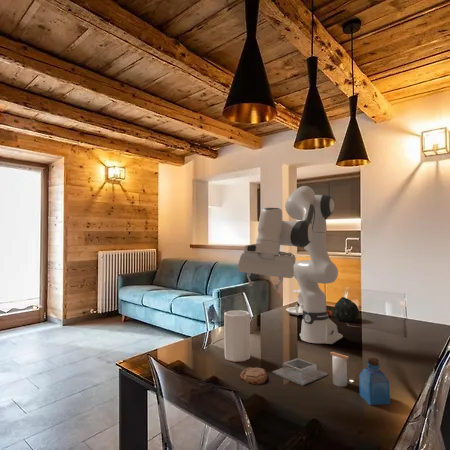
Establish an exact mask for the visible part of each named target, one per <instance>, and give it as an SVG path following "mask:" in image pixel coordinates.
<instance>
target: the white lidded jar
mask: <svg viewBox="0 0 450 450" xmlns="http://www.w3.org/2000/svg"><path fill="white" fill-rule="evenodd" d="M329 356H331V357H332V384H333V385H334V386H337V387H339V388H340V387H347V386H348V370H347V365H348V364H347V362H348V361H347V360H349V359H350V357H349V356H348V355H345V354H341V353H337V352H335V351H330V352H329Z"/></svg>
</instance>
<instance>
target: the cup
mask: <svg viewBox="0 0 450 450" xmlns="http://www.w3.org/2000/svg"><path fill="white" fill-rule="evenodd" d="M223 313H224V316H223V319H224V320H223V323H224V325H223V326H224V327H223V328H224V329H223V333H224V335H223V336H224V337H223V338H224V340H223V341H224V345H223V346H224V347H223V348H224V358H225V360H226V361H230V362H234V363H235V362H237V363H238V362H246V361H247V360H250V359H251V317H250V316H251V314H250V313H249V311H247V310H240V309H239V310H228V311H225V312H223Z"/></svg>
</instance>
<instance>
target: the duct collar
mask: <svg viewBox="0 0 450 450" xmlns="http://www.w3.org/2000/svg"><path fill="white" fill-rule="evenodd" d="M272 374H274V375H276V376H279V377H281V378H283V379H286V380H287V381H291V382H293V383H295V384H298V385H301V386H303V387H304V386H306V385H307V384H310V383H313V382H315V381H317V380H319V379H322V378H324V377H326V376H328V372H325V371H322V370H319V369H317V364H316V363H312V362H310V361H307V360H304V359H301V358H295V359H291V360H289V361H285V362H283V363H282V367H281V368H278V369H275V370H272Z"/></svg>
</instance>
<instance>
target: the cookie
mask: <svg viewBox="0 0 450 450" xmlns="http://www.w3.org/2000/svg"><path fill="white" fill-rule="evenodd" d="M239 376H240V379H241V380H243V382H245V383H247V384H251V385H262V384H264V383H266V381H267V380H268V373H267V371H266V369H264V368H260V367H252V366H250V367H247V368H245V369H243V370H242V371H241V372H240V374H239Z"/></svg>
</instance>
